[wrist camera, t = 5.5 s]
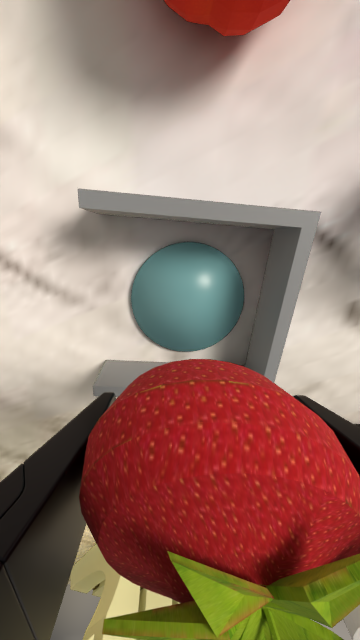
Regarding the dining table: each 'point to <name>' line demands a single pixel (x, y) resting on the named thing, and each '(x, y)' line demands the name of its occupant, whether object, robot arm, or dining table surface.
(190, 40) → the dining table surface
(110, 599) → the slatted curved stool
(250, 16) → the tomato
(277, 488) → the strawberry
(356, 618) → the dish
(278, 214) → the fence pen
